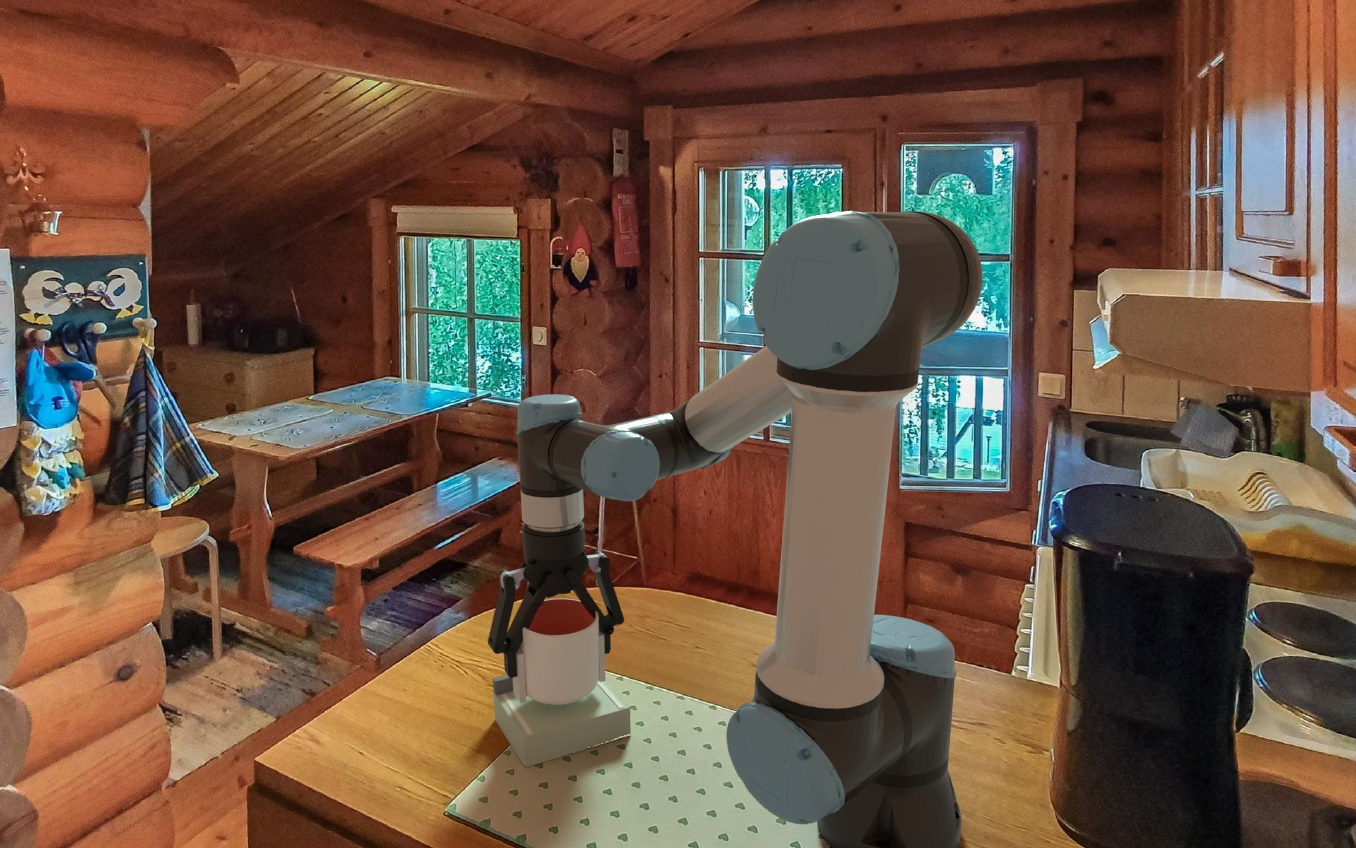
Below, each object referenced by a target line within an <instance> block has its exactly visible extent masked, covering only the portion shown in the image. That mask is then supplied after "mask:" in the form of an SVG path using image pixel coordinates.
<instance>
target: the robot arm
mask: <svg viewBox="0 0 1356 848" xmlns="http://www.w3.org/2000/svg"><path fill="white" fill-rule="evenodd" d="M755 275H756V276H755V279H754V285H753V289H752V312H753V319H754V323H755V326H756V329H757V330H758V331H760V332H761V333H762V334H763V335H764V337H763V338H762V341H763V343H764V344H765V346H763V348H761V349H759V350H758V351H757V352H755V353H753V354H752V355H751V356H749V357H748V358H747V359H745V360H744V361H742V362H741V363H739V364H738V365H736V366H735V367H733V368H732V369H731V370H729V371H728V372H726V373H725V374H724V375H722V376H720V377H718V379H716V380H715V381H713V382H711V383H710V384H709V385H707V386H705V388H703V389H702V390H700V391H699V392H698V393H696V394H694V395H693V396H692V397H691V398H690V399H688V400H686V401H685V402H684V403H682V404H681V405H679V406H677V407H675V408H674V409H672V410H670V411H667V412H663V413H658V414H655V415H649V416H646V417H645V416H644V417H641V418H637V419H630V420H627V421H623V422H618V423H613V424H607V425H606V424H605V425H604V424H599V423H598V424H597V423H592V422H589V421H586V420H582V417H583V415H582V410H581V403H580V401H579V400H578V399H577V398H576V397H575V396H572V395H568V394H555V393H554V394H553V393H552V394H539V395H534V396H529V397H527V398H525V399H523V400H521V401H520V402H519V404H518V405H517V430H516V432H515V434H516V436H517V437H516V438H517V439H516V440H517V453H518V454H517V455H518V468H519V469H518V470H519V484H520V500H521V501H520V503H521V504H520V505H521V520H522V522H523V523H524V524H523V525H522V530H521V531H522V546H523V547H522V549H523V562H522V563H521V564H522V565H521V567H520V568H518V569H514V570H511V571H509V570H508V569H503V568H502V569H501V570H499V573H498V581H499V582H498V583H499V591H498V596H497V600H496V603H495V604H496V605H495V609H494V613H493V617H492V622H491V626H490V630H489V632H488V633H489V634H488V639H487V645H488V646H489V648H490V649H491V650H492V652H493V653H494V654H495V655H499V654H503V663H504V665H503V666H504V672H505V673H506V674H505V675H508V676H509V678H513V694H514V695H515V697H516V698H517V699H518V701H519V702H520V704H521V703H525V702H526V688H525V668H524V654H523V652H522V651H521V650H520V649H519V647H520V645H521V643H522V641H523V628H524V627H525V628H526V629H529V627H530V625H531V622H532V620H533V618H534V616H535V614H536V612H537V610H538V608H539V607H540V606H541V605H542V604H543V602H544V600H546V599H550V598H553V597H555V596H558V595H566V594H571V593H572V591H573V593H574V595H575V596H576V597H577V600H579V601H580V602H581V603H582V604H583V606H584V607H585V609H586V610H587V611H588V612H589V614H590V615H591V616H592V617H593V618H594V619H595V611H597V613H598V619H599V679H598V681H599V682H603V681H606V655H607V654H610V653H611V650H612V648H611V647H612V646H611V645H612V644H611V640H612V639H611V635H613V634H614V632H615V626H621V625H623V624H624V623H625V616H624V614H623V611H622V607H621V605H620V602H619V599H618V596H617V593H616V589H615V588H614V583H613V581H612V578H611V575H610V566H611V565H610V564H611V563H610V558H609V557H608V556H607V555H605V553H603V552H602V551H601V550H596V551H595V552H593V553H594V554H589V555H587V554H586V551H585V549H586V538H585V537H586V536H585V523H584V522H583V519H584V517H585V505H584V490H585V491H588V492H590V493H592V494H595V495H597V496H600V497H601V498H607V499H609V500H616V501H617V500H618V501H622V502H634V501H638V500H640V499H641V498H643V497H644V496H645V495H646V493H648V491H650V490H651V489H652V488H653V487H654V485H655V483H656V481H659V480H663V479H665V478H668V477H672V476H675V475H679V474H683V473H685V472H686V473H687V472H690V471H694V470H700V469H701V470H702V469H705V468H709V467H711V466H713V465H715V464H716V463H720V462H722V461H724V460H725V459H726V458H728V456H729V455H730V454H731V452H732V449H733V447H735V446H737V445H739V443H742V442H743V441H745V440H747V439H748V438H750V437H752V436H754V435H755V434H757V433H759V432H761V431H762V430H764V429H765V428H767V427H769V426H771V425H773V424H774V423H776V422H777V421H779V420H781V419H783V418H784V417H786V416H788V415H789V414H790V416H791V417H790V430H789V431H790V432H789V440H788V441H789V444H788V458H787V468H786V469H787V470H786V483H785V485H786V487H785V499H784V510H783V511H784V512H783V525H782V538H781V539H782V541H781V553H780V554H781V555H780V564H779V565H780V566H779V567H780V569H779V580H778V582H779V583H778V593H777V594H778V595H777V605H776V606H777V607H776V620H775V621H776V622H775V632H774V633H775V634H774V642H773V643H771V644H769V645H768V646H767V647H765V648H763V650H762V651H761V652H760V653H759V654H758V658H757V660H756V664H755V665H756V666H755V679H754V690H753V691H754V692H753V697H752V700H751V701H750V702H746V703H745V702H744V703H743V704H741V705H740V706H739V707H737V710H736V711H735V712H734V713H733V714H732V715H731V716H730V718H729V720H728V723H727V727H726V733H725V734H726V736H725V737H726V745H727V750H728V751H727V752H728V755H729V758H730V761H731V764H732V766H733V768H734V770H735V772H736V774H737V776H738V777H739V779H740V780H741V782H742V783H743V785H744V787H745V788H746V790H747V792H748V793H749V794H750V795H751V796H752V797H753V798H754V799H755V801H756V802H758V804H759V805H760V806H762V808H764V809H765V810H767V811H768V813H770V814H772V815H773V816H774V817H775V816H776V817H777V818H779V819H781V820H783V821H785V822H787V823H791V824H795V825H809V824H814V823H817V827H818V830H819V832H820V834H821V835H822V838H823V839H824V840H825V842H826V843H827V844H828V845H829V846H830V847H831V848H960V845H961V841H962V840H961V838H962V824H963V823H962V821H963V820H962V813H961V810H960V806H959V803H958V801H957V796H956V792H955V789H954V785H953V781H952V778H951V775H950V772H949V759H950V756H949V755H950V745H951V744H950V743H951V732H952V731H951V730H952V717H953V706H954V705H953V703H954V691H955V678H957V671H956V669H955V667H956V666H955V663H956V661H955V660H956V658H955V657H956V653H955V648H954V645H953V644H952V642H951V641H950V640H949V638H948V637H947V636H946V635H945V634H944V633H943V632H941V631H940V630H938V629H936V628H934V627H933V626H931V625H928V624H925V623H922V622H919V621H917V620H913V619H910V618H906V617H901V616H894V615H887V614H875V608H876V600H877V588H878V580H879V571H880V562H881V551H882V542H883V541H882V540H883V532H884V524H885V515H886V507H887V506H886V505H887V496H888V486H889V479H890V477H889V475H890V467H891V458H892V457H891V456H892V449H893V440H894V439H893V438H894V430H895V429H894V428H895V420H896V410H897V405H898V404H899V402H900V401H901V400H902V399H904V398H906V397H907V396H908V395H909V394H911V393H912V392H913V391H914V390H916V389H917V388H918V384H919V375H920V368H921V359H922V349H924V348H926V347H927V346H928V347H929V346H930V345H931V344H934V343H937V342H939V341H942V340H944V339H946V338H948V337H949V336H951V335H953V334H954V333H956V332H957V331H958V330H959V329H960V328H962V326H963V325H965V324H966V322H968V321H967V320H968V319H970V316H971V315H972V314H973V312H974V311H975V310H976V307H977V304H978V302H979V300H980V297H981V292H982V290H983V288H982V287H983V267H982V261H981V258H980V255H979V251H978V249H977V247H976V246H975V244H974V242H973V241H972V239H971V237H970V236H969V235H968V234H967V233H966V232H965V231H964V230H963V228H961V227H960V226H959V225H957V224H956V223H955V222H953V221H952V220H950V219H949V218H946V217H944V216H941V215H938V214H935V213H932V212H926V211H917V210H916V211H914V210H913V211H911V210H910V211H902V212H898V211H896V212H893V211H891V212H890V211H887V212H886V211H885V212H884V211H883V212H882V211H876V212H875V211H864V212H863V211H855V210H849V211H834V212H831V213H827V214H819V215H815V216H809V217H807V218H804V219H801V220H800V221H797V222H796V223H794V224H792V225H791V226H789V227H788V228H786V229H785V231H783V232H782V233H781V234H780V235H779V237H778V238H776V239H775V240H774V241H773V242H772V243H771V244H770V246H769V248H768V249H767V250H766V252H765V254H764V256H763V257H762V259H761V262H760V264H759V266H758V269H757V271H756V274H755ZM588 567H589V569H590V570H591V571H592V572H593V574H594V577H595V580H596V584H597V586H598V589H599V592H600V595H601V597H602V600H603V603H604V604H603V605H604V606H605V607H604V608H605V610H606V613H607V614H606V615H605V614H604V612H602V610H601V609H600V607H599V605H598V604H597V603H596V601H595V600H594V599H593V597H592V596H591V594H590V592H588V591H589V590H588V589H587V588H586V586H585V585H584V583H583V582H582V580H581V579H582V577H583V576H584V574H585V572H586V571H587V569H588ZM523 580H526V581H527V583H528V584H527V587H526V588H525V590H524V593H523V594H524V595H523V596H524V597H523V598H522V600H521V603H520V605H519V607H518V608H517V611H516V613H515V616H514V617H513V618H512V619H513V620H512V621H511V624H510V620H511V617H512V613H513V609H514V604H515V600H516V593H517V592H516V590H518V589H519V588H520V584H521V581H523Z"/></svg>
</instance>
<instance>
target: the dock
mask: <svg viewBox="0 0 1356 848" xmlns="http://www.w3.org/2000/svg"><path fill="white" fill-rule="evenodd" d="M492 691H493V707H494V720H495V722H496V724H497V725H498V727H499V728H500V730H501V731H502V733H503V734H504V735H503V736H504V737H505V738H506V740H507V741H508V743H509V745H510V746H511V747H512V749H513V751H514V752H515V755H517V757H518V759H519V760H520V762H521V763H522V766H523V767H524V768H528V767H531V766H535V765H538V764H543V763H544V762H548V761H551V760H552V761H553V760H555V759H558V758H562V757H565V756H568V755H571V753H572V754H575V753H578V752H577V751H579V752H581V751H580V750H582V751H585V750H587V749H586V748H588V747H592V748H594V747H593V746H595V745H598V744H601V743H605V742H606V741H611V740H613V739H615V738H618V737H620V736H624V735H627V734H631V707H630V706H629V705H628V703H626V701H625V700H624V699H623V698H622V697H621V695H620V694H618V693H617V692H616V690H615V689H614V688H613V687H612V685H610V684H609V682H608V681H606V680H605V681H603V682H599V681H598V683H597V685H596V687H595V689H594V690H593V691H592V692H591V693H590V694H589V695H588V696H586V697H585V698H583V699H581V700H579V701H576V702H573V703H569V704H562V705H551V704H544V703H540V702H538V701H535V700H533V699H531V698H530V697H529V696H527V695H526V702H525V703H521V704H520V702H519V701H518V699H517V698H516V697H515V695H514V694H513V678H509V676H508V675H507V674H504V675H500V676H496V677H492ZM631 735H632V734H631ZM605 744H606V743H605ZM595 747H596V746H595ZM584 749H585V750H584ZM564 755H565V756H564Z"/></svg>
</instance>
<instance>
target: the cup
mask: <svg viewBox="0 0 1356 848" xmlns="http://www.w3.org/2000/svg"><path fill="white" fill-rule="evenodd" d="M519 649H520V650H521V651H522V652H523V654H524V668H525V688H526V695H527V696H529V697H530V698H531V699H533V700H535V701H538V702H540V703H544V704H551V705H562V704H569V703H573V702H576V701H579V700H581V699H583V698H585V697H586V696H588V695H589V694H590V693H591V692H592V691H593V690H594V689H595V687H596V685H597V683H598V679H599V619H598V613H597V611H595V619H594V618H593V617H592V616H591V615H590V614H589V612H588V611H587V610H586V609H585V607H584V606H583V604H582V603H581V602H580V600H579V599H573V598H551V599H550V598H548V599H545V600H544V602H543V604H542V605H541V606H540V607H539V608H538V610H537V612H536V614H535V616H534V618H533V620H532V622H531V625H530V627H529V629H526V628H525V627H524V628H523V641H522V643H521V645H520V647H519Z"/></svg>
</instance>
